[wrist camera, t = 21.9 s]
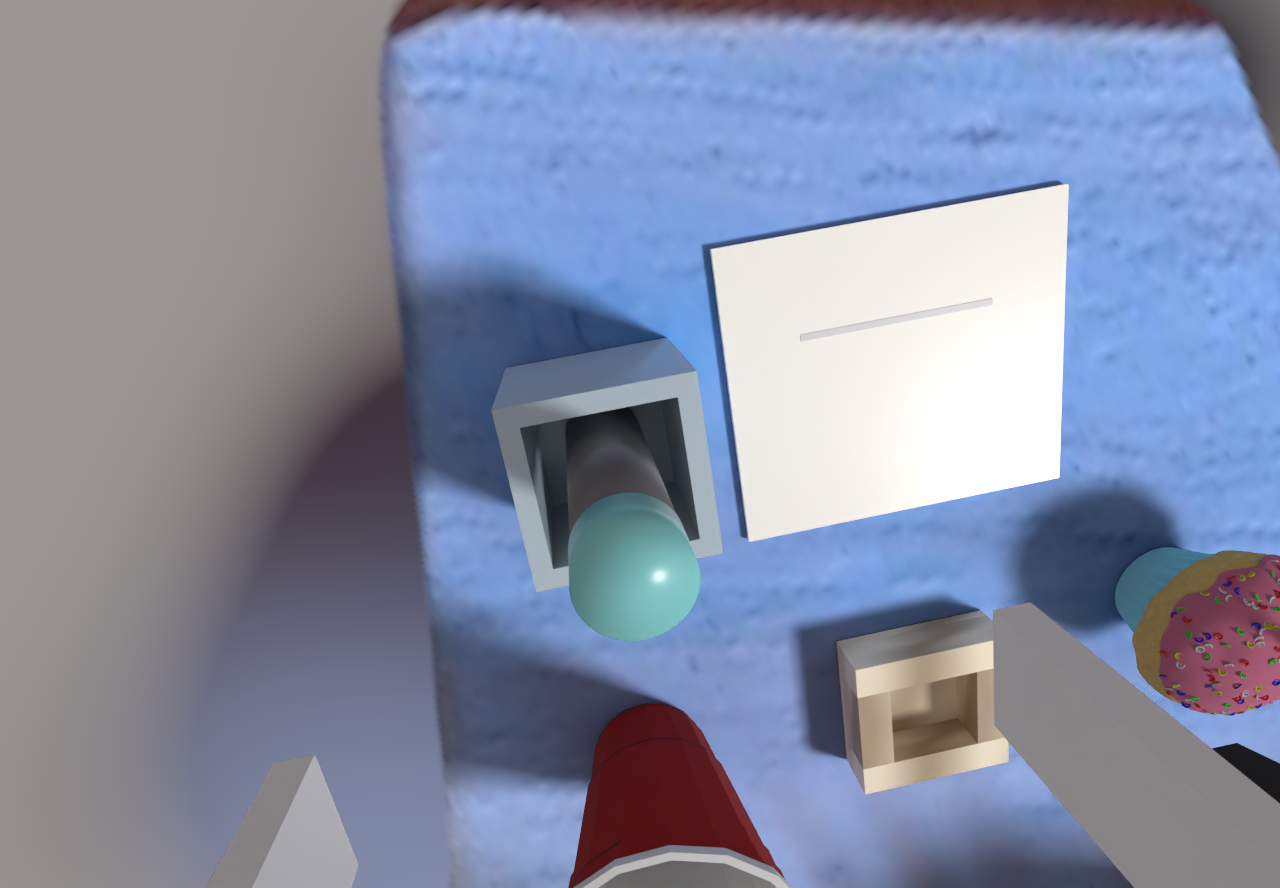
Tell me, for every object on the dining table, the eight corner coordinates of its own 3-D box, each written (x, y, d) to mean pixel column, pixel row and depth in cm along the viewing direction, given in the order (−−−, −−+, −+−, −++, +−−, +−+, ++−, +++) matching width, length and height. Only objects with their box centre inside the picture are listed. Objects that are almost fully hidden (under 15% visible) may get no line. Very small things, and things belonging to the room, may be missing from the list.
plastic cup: (576, 641, 35) (585, 844, 24) (771, 681, 37) (865, 885, 26) (520, 808, 38) (505, 1061, 27) (705, 837, 40) (763, 1082, 29)
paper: (1064, 184, 31) (1069, 183, 30) (1055, 475, 35) (1059, 477, 35) (709, 248, 30) (711, 249, 29) (747, 539, 34) (749, 542, 34)
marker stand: (980, 610, 37) (1009, 636, 35) (981, 729, 40) (1008, 761, 38) (836, 641, 37) (855, 670, 34) (846, 759, 39) (865, 794, 37)
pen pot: (666, 337, 31) (696, 371, 24) (690, 485, 33) (723, 553, 27) (505, 368, 30) (491, 410, 24) (540, 516, 33) (536, 592, 26)
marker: (610, 376, 30) (652, 497, 17) (653, 435, 31) (725, 592, 18) (548, 420, 30) (542, 573, 17) (593, 477, 31) (620, 663, 18)
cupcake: (1174, 485, 36) (1455, 608, 25) (1255, 574, 39) (1545, 723, 27) (1050, 601, 38) (1263, 767, 26) (1136, 680, 40) (1365, 863, 29)
